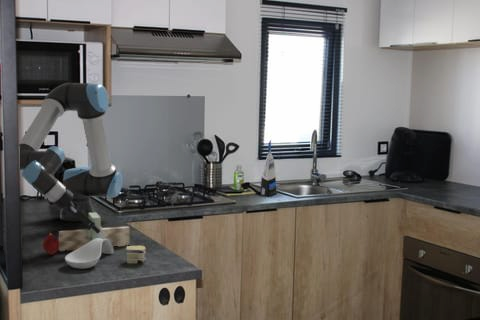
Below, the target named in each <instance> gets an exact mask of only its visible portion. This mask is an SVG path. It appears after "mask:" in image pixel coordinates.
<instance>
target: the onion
mask: <svg viewBox="0 0 480 320" xmlns="http://www.w3.org/2000/svg"><path fill="white" fill-rule="evenodd" d="M59 246H60V243H59V238H57V237H56V236H55V235H54V234H52V233H51V232H49V234H48V236H46V237H45V239H44V241H43V243H42V248H43V250H44V251H45V252H46V253H47V254H49V255H50V256H53V255H54V254H55V253H57V252H58V251H59Z"/></svg>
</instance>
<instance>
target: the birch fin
mask: <svg viewBox="0 0 480 320" xmlns="http://www.w3.org/2000/svg"><path fill="white" fill-rule="evenodd" d="M101 229H102V230H103V231H104V232H105V233H106V234H108V235H107V236H106V238H105V239H108V240H109V241H110V242H111V244H112V246H113V248H115V247H114V246H118V247H127V246H128V245H130V246H131V244H130V243H131V242H130V240H131V239H130V233H131V231H130V226H129V225H128V226H119V227H118V226H116V227H115V226H113V227H102V228H101ZM58 240H59V243H60V246H59V249H58V251H60V252H65V250H67V251H75V250H77V249H79V248H80V247H82V246H84V245H85V244H87V243H89V242H90V241H91V238H89V230H88V228H84V229H70V230H59V231H58ZM126 245H127V246H126Z"/></svg>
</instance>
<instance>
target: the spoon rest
mask: <svg viewBox="0 0 480 320" xmlns="http://www.w3.org/2000/svg"><path fill="white" fill-rule="evenodd" d="M114 250H115V249H114V247H113V246H112V244H111V242H110V241H109V240H108V239H100V238H96V239H94V240H92V241H90V242H89V243H87V244H85V245H84V246H82V247H80V248H79V249H77V250H72V251H71V252H69V253H68V254H66V256H65V257H64V261H65V262H66V263H67V265H68V266H70V267H71V268H74V269H79V270H83V269H84V270H85V269H86V270H87V269H89V268H92V267H93V266H95V265H96V264H97V263H98V262H99V261H100V258H101V256H102V254H107V255H108V254H109V255H113V254H114V253H115V252H114Z"/></svg>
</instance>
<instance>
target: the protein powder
mask: <svg viewBox="0 0 480 320" xmlns="http://www.w3.org/2000/svg"><path fill="white" fill-rule="evenodd" d="M267 147H268V149H267V151H268V152H267V156H266V159H265V163H264V167H263V171H262V174H261V181H260V193H259V194H260V195H261V196H263V197H267V198H269V197H274V196H276V195H277V193H278V192H277V179H276V178H277V177H276V168H275V167H276V166H275V160H274V156H273V154H272V139H271V140H269V142H268V146H267Z"/></svg>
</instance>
